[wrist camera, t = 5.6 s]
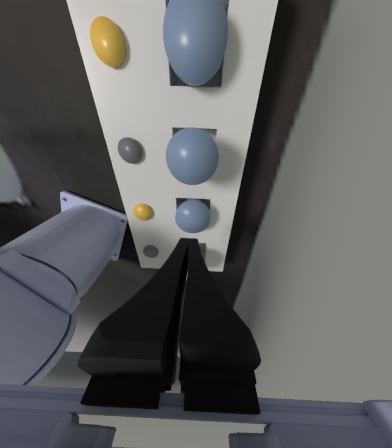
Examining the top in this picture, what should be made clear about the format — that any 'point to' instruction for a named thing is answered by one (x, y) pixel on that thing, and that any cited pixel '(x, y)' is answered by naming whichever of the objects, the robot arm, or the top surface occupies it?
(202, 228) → the button
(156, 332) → the robot arm
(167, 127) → the console
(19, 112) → the top surface
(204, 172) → the button
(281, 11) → the top surface
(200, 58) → the button
